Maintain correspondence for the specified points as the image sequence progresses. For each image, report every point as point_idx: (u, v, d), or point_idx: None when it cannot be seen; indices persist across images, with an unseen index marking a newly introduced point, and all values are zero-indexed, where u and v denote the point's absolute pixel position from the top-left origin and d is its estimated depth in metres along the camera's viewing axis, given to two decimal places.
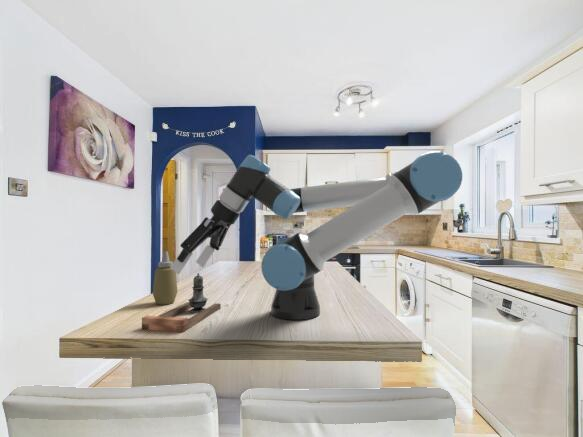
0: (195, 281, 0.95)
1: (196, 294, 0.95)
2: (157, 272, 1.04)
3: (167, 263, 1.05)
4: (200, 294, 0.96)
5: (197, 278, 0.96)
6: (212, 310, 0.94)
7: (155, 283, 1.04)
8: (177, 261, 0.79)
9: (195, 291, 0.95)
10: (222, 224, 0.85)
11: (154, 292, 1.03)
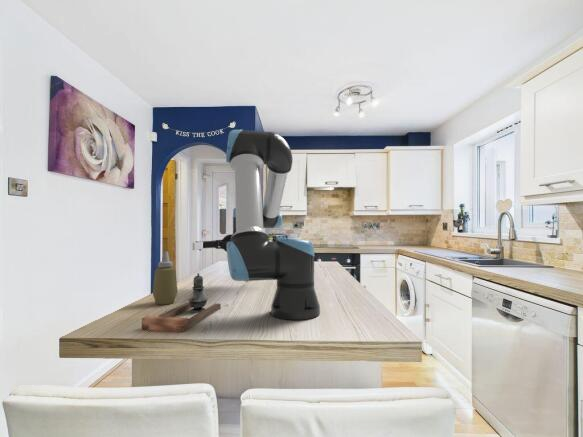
0: (195, 281, 0.95)
1: (196, 294, 0.95)
2: (157, 272, 1.04)
3: (167, 263, 1.05)
4: (200, 294, 0.96)
5: (197, 278, 0.96)
6: (212, 310, 0.94)
7: (155, 283, 1.04)
8: None
9: (195, 291, 0.95)
10: None
11: (154, 292, 1.03)
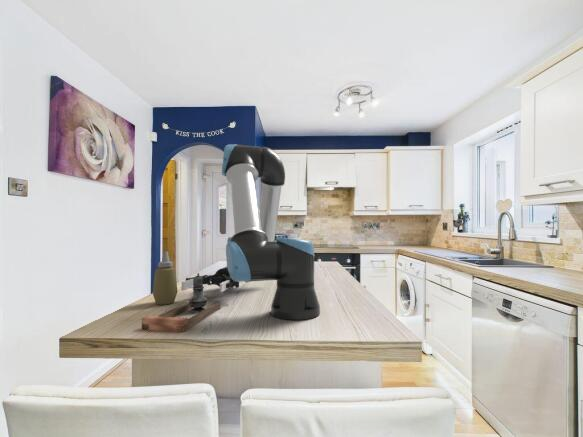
0: (195, 281, 0.95)
1: (196, 294, 0.95)
2: (157, 272, 1.04)
3: (167, 263, 1.05)
4: (200, 294, 0.96)
5: (197, 278, 0.96)
6: (212, 310, 0.94)
7: (155, 283, 1.04)
8: None
9: (195, 291, 0.95)
10: None
11: (154, 292, 1.03)
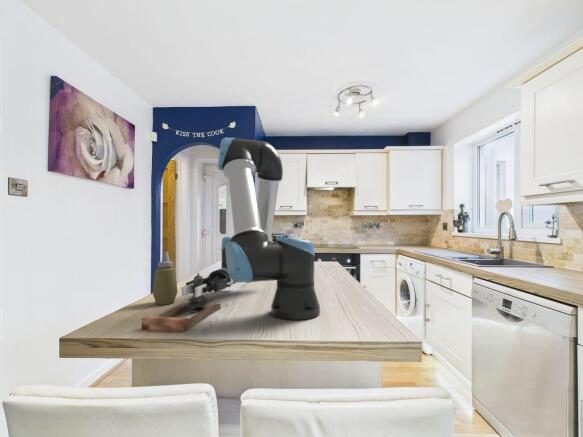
0: (195, 281, 0.95)
1: None
2: (157, 272, 1.04)
3: (167, 263, 1.05)
4: None
5: (197, 278, 0.96)
6: (212, 310, 0.94)
7: (155, 283, 1.04)
8: None
9: None
10: (219, 278, 1.10)
11: (154, 292, 1.03)
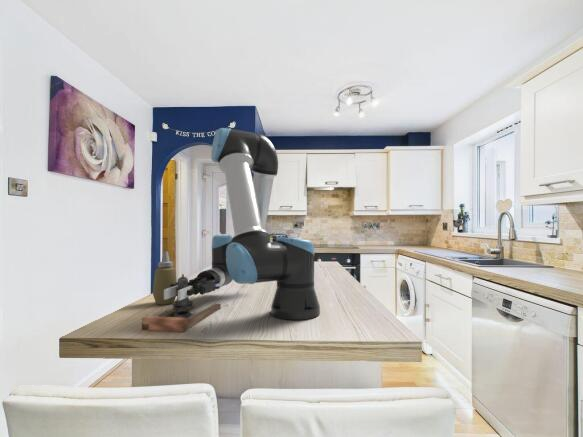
0: (179, 283, 0.88)
1: None
2: (157, 272, 1.04)
3: (167, 263, 1.05)
4: None
5: (181, 279, 0.88)
6: (212, 310, 0.94)
7: (155, 283, 1.04)
8: None
9: None
10: (207, 279, 1.02)
11: (154, 292, 1.03)
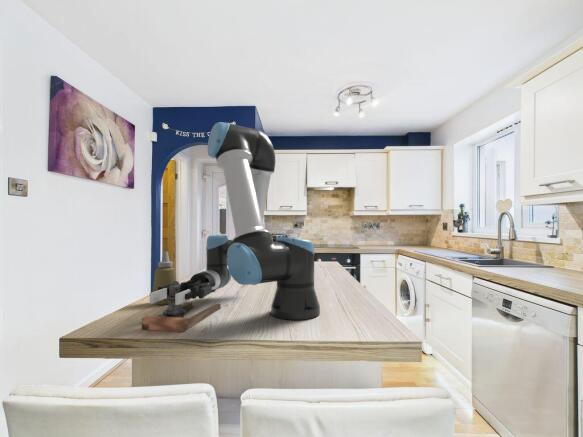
0: (171, 290, 0.82)
1: (172, 305, 0.82)
2: (157, 272, 1.04)
3: (167, 263, 1.05)
4: (176, 305, 0.82)
5: (173, 286, 0.82)
6: (212, 310, 0.94)
7: (155, 283, 1.04)
8: None
9: (171, 302, 0.82)
10: (200, 282, 0.96)
11: None
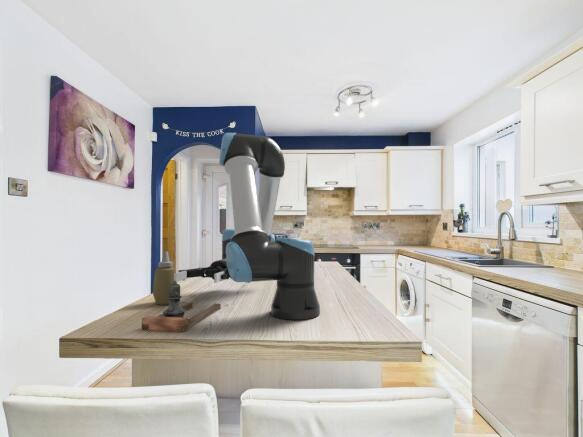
0: (171, 290, 0.82)
1: (172, 305, 0.82)
2: (157, 272, 1.04)
3: (167, 263, 1.05)
4: (176, 305, 0.82)
5: (173, 286, 0.82)
6: (212, 310, 0.94)
7: (155, 283, 1.04)
8: None
9: (171, 302, 0.82)
10: None
11: (154, 292, 1.03)
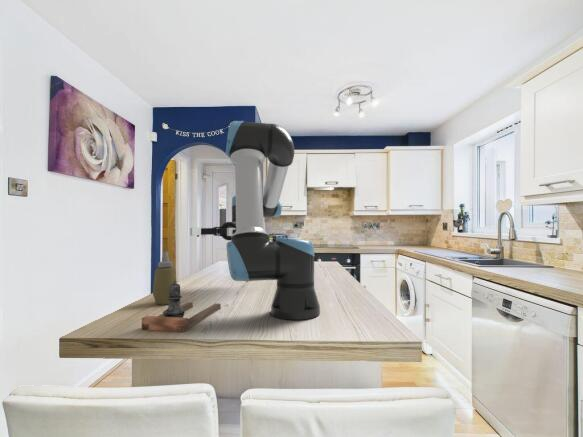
0: (171, 290, 0.82)
1: (172, 305, 0.82)
2: (157, 272, 1.04)
3: (167, 263, 1.05)
4: (176, 305, 0.82)
5: (173, 286, 0.82)
6: (212, 310, 0.94)
7: (155, 283, 1.04)
8: None
9: (171, 302, 0.82)
10: None
11: (154, 292, 1.03)
